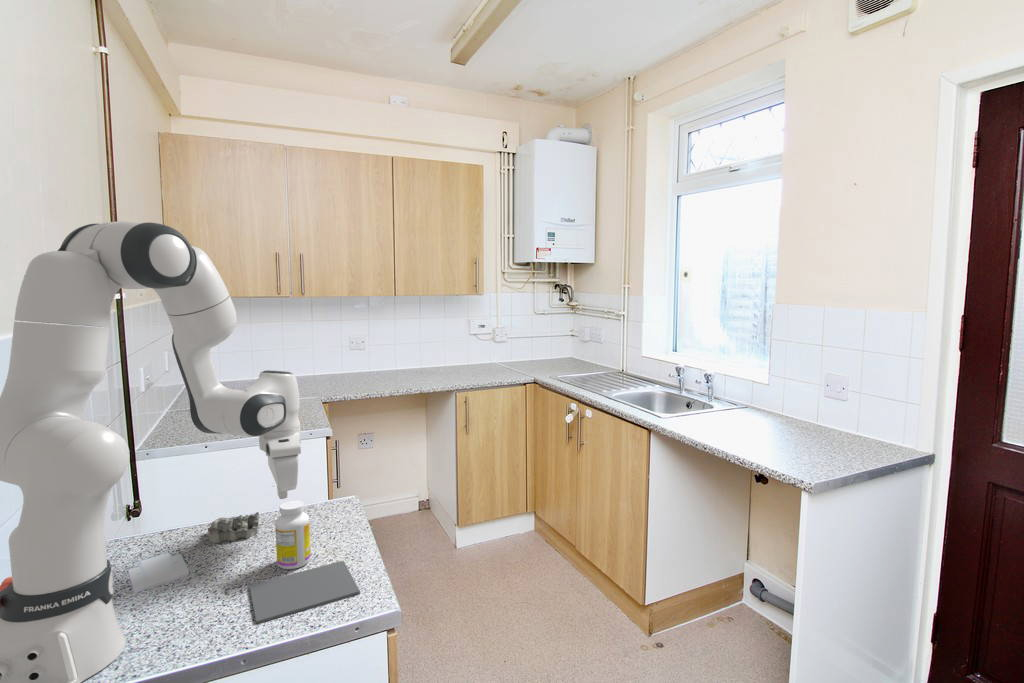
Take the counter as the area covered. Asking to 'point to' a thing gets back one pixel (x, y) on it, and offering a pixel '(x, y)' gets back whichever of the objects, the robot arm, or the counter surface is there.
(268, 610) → the mat
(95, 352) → the robot arm
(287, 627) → the counter surface
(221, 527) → the egg carton
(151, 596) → the counter surface
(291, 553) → the supplement bottle
